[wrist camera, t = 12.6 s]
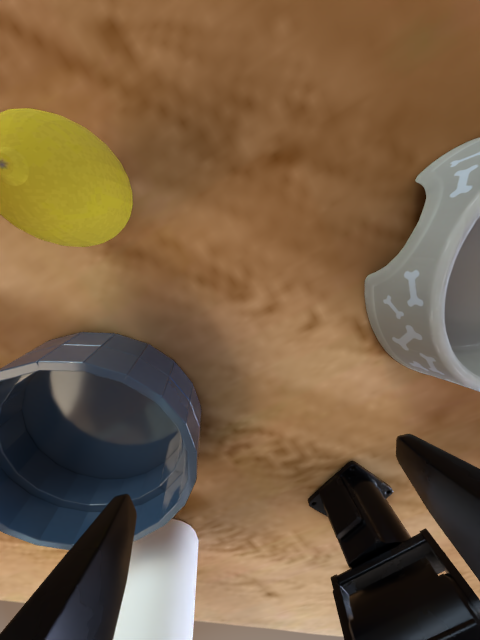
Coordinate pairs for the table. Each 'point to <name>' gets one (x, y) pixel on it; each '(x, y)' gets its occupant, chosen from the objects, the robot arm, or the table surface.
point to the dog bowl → (436, 277)
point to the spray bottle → (160, 586)
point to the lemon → (60, 180)
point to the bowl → (94, 437)
